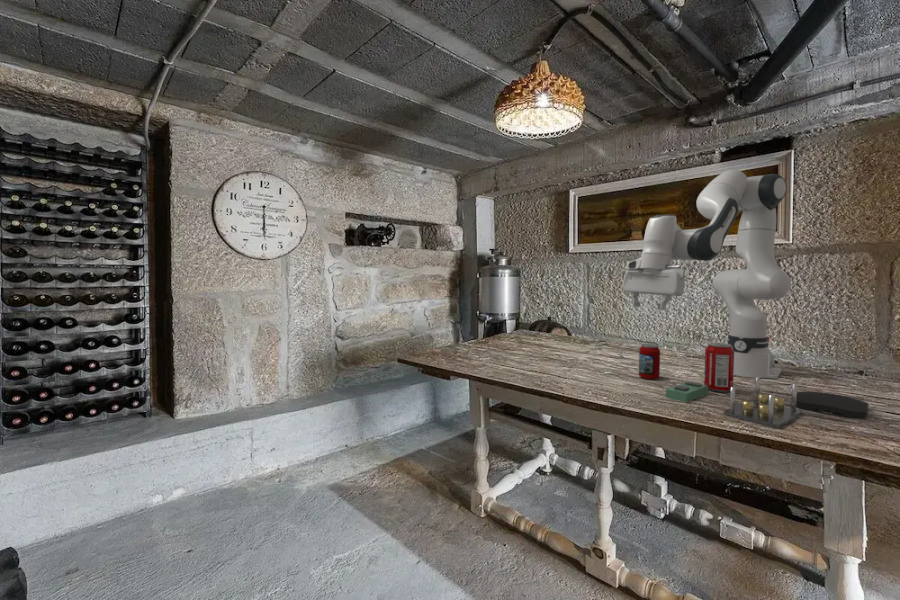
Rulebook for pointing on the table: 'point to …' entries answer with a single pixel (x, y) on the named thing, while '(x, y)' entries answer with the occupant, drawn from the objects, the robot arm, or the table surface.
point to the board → (686, 391)
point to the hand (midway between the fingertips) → (648, 308)
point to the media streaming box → (832, 404)
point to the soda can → (719, 367)
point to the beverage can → (649, 361)
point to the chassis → (764, 408)
